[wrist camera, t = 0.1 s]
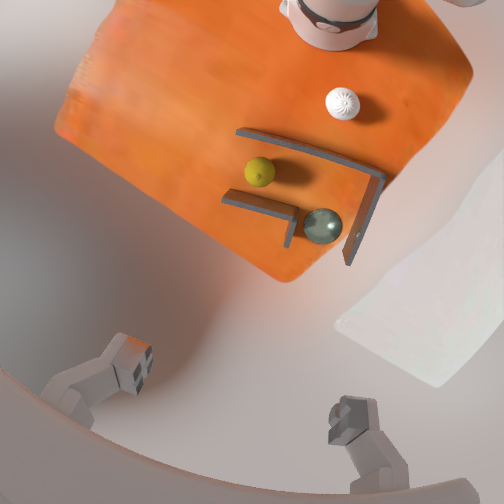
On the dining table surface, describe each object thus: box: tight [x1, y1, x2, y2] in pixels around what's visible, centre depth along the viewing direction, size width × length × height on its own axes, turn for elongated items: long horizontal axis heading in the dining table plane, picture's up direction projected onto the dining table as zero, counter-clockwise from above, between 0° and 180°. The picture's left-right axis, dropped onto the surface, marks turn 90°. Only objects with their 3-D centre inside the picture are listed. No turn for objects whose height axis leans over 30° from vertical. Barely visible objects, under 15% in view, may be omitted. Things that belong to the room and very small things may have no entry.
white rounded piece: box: [326, 87, 360, 120], centre depth 42 cm, size 6×6×7 cm
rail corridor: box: [222, 127, 387, 266], centre depth 52 cm, size 20×28×6 cm
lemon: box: [245, 157, 275, 187], centre depth 50 cm, size 6×6×8 cm
